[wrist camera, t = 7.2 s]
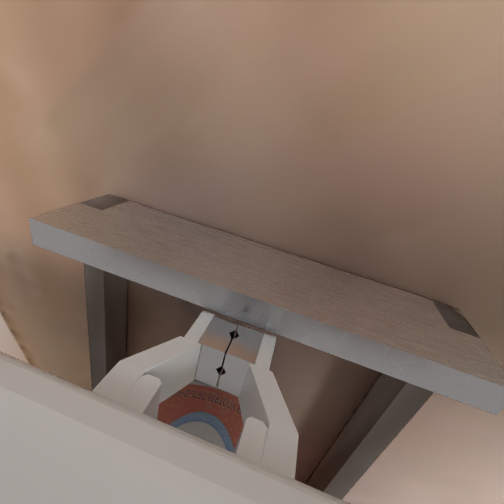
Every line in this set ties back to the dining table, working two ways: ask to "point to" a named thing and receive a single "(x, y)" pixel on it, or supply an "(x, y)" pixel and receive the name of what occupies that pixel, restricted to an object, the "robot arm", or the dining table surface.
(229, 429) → the canned food
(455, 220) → the dining table surface
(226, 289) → the frame
